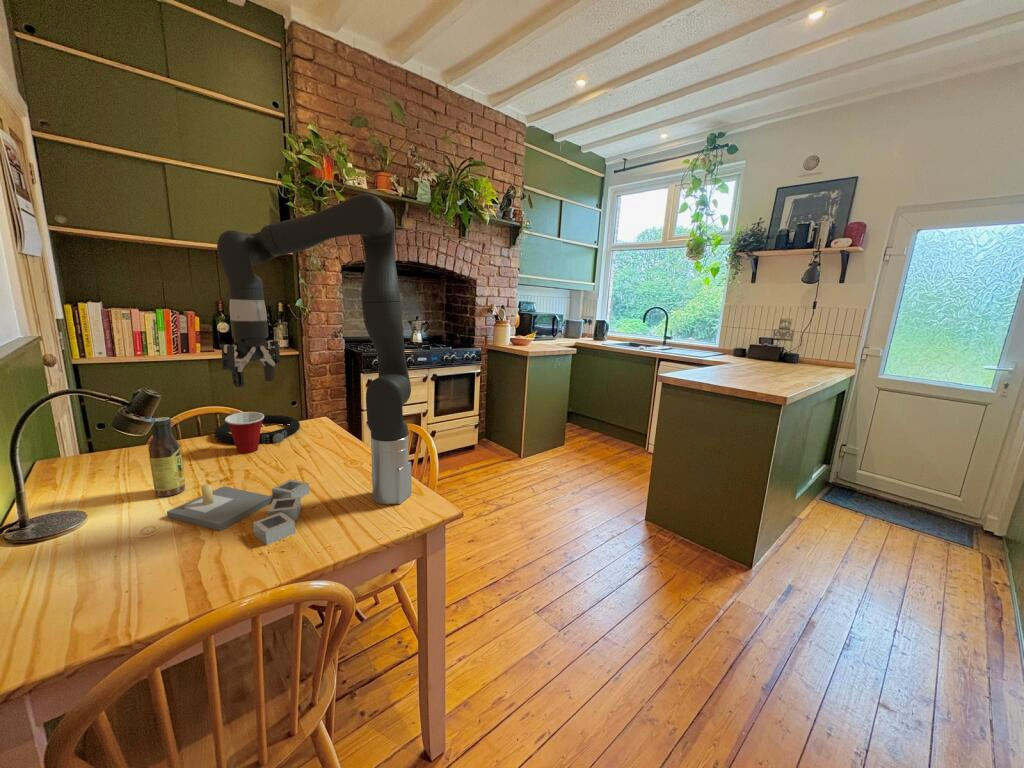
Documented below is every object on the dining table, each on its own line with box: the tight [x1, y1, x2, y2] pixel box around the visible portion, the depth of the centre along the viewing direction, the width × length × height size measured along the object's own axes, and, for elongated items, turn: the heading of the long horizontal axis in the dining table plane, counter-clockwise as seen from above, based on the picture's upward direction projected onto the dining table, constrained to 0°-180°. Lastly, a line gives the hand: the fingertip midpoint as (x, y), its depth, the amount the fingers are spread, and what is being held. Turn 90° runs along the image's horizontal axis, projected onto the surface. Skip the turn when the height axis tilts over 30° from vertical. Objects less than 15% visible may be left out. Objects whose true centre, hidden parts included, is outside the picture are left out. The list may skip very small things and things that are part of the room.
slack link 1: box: [267, 497, 302, 521], centre depth 98 cm, size 6×6×3 cm
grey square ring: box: [271, 479, 310, 500], centre depth 107 cm, size 6×6×3 cm
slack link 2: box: [252, 512, 296, 546], centre depth 90 cm, size 6×6×3 cm
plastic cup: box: [224, 411, 265, 455], centre depth 135 cm, size 11×11×12 cm
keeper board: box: [166, 483, 273, 531], centre depth 99 cm, size 16×14×6 cm
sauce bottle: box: [148, 416, 186, 498], centre depth 105 cm, size 7×6×20 cm
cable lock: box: [213, 414, 301, 445], centre depth 153 cm, size 28×4×30 cm
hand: (255, 383), depth 103 cm, fingers open, 8 cm apart
